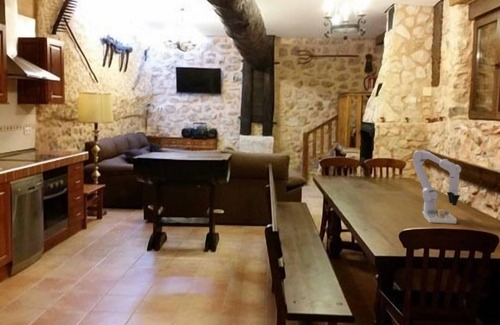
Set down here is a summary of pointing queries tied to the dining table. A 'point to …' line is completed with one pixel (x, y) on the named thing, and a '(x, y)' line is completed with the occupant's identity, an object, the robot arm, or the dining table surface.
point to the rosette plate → (433, 217)
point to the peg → (441, 213)
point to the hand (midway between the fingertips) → (452, 204)
